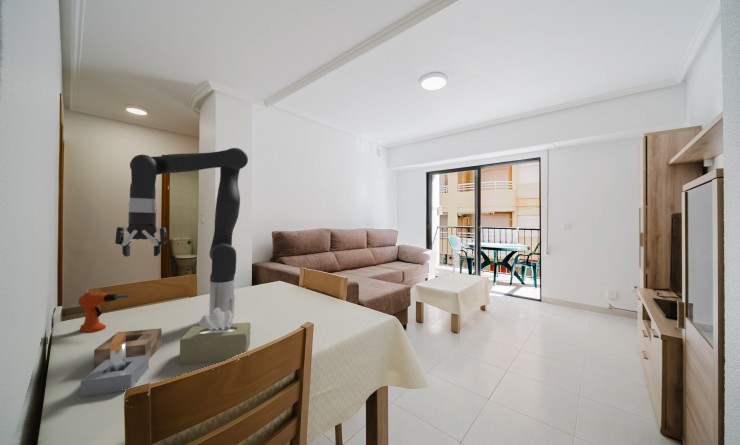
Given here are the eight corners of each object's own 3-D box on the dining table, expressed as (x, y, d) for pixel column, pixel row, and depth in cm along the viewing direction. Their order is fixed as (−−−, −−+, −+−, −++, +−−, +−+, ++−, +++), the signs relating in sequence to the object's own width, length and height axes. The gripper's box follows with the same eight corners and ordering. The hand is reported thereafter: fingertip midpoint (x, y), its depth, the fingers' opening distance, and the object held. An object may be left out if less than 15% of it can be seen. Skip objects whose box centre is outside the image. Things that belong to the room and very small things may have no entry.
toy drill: (126, 329, 99) (122, 290, 99) (76, 334, 99) (71, 295, 99) (137, 324, 104) (133, 286, 104) (89, 328, 104) (85, 291, 103)
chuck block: (161, 345, 91) (161, 328, 91) (145, 363, 80) (145, 344, 80) (117, 350, 87) (117, 332, 87) (93, 370, 76) (94, 349, 76)
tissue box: (178, 365, 80) (179, 314, 80) (190, 349, 89) (191, 303, 89) (245, 358, 85) (246, 310, 85) (250, 344, 94) (251, 300, 94)
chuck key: (122, 386, 69) (123, 341, 69) (106, 390, 68) (107, 344, 67) (127, 373, 75) (128, 331, 75) (113, 376, 73) (113, 333, 73)
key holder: (148, 368, 78) (148, 354, 78) (130, 389, 68) (131, 374, 68) (105, 374, 74) (105, 360, 74) (80, 397, 65) (80, 381, 65)
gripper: (111, 210, 89) (110, 258, 89) (162, 212, 94) (161, 257, 94) (123, 210, 96) (122, 254, 96) (170, 212, 101) (169, 254, 101)
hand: (141, 256), depth 95 cm, fingers open, 8 cm apart
